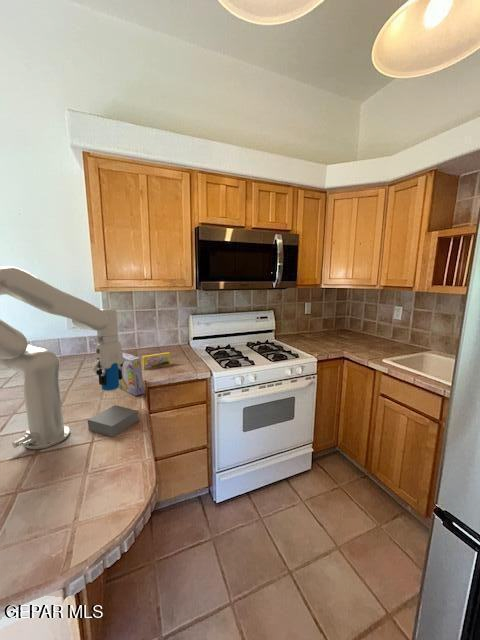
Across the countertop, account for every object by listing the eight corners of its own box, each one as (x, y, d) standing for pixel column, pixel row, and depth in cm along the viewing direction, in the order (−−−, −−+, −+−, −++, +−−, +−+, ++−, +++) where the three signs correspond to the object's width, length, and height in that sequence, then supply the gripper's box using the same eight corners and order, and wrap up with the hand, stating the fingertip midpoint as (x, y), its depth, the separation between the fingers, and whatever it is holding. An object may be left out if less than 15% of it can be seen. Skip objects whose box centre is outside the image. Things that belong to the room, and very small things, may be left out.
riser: (112, 437, 93) (111, 426, 92) (88, 429, 97) (87, 419, 97) (138, 420, 104) (137, 410, 103) (115, 414, 108) (114, 405, 108)
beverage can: (114, 385, 116) (113, 357, 115) (122, 388, 112) (120, 360, 111) (99, 389, 111) (97, 361, 110) (106, 393, 107) (104, 364, 106)
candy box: (143, 370, 161) (142, 356, 159) (142, 369, 162) (142, 356, 161) (170, 365, 169) (169, 352, 168) (169, 364, 171) (168, 351, 170)
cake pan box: (115, 387, 136) (112, 353, 133) (124, 383, 140) (121, 350, 137) (134, 397, 124) (132, 360, 121) (144, 393, 128) (142, 357, 125)
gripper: (95, 344, 100) (98, 390, 102) (131, 336, 116) (133, 376, 118) (81, 342, 103) (84, 387, 105) (118, 335, 119) (120, 374, 121)
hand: (110, 381), depth 111 cm, fingers closed on beverage can, 6 cm apart
